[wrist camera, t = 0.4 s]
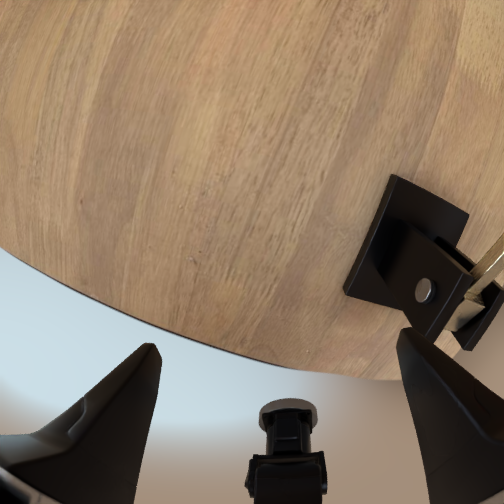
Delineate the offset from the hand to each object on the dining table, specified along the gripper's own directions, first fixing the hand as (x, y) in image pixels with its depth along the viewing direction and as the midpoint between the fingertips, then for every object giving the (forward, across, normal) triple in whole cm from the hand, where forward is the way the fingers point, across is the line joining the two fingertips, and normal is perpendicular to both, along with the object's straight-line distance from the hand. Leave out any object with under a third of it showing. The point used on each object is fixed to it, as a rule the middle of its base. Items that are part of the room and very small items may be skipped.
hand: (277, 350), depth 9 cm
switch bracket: (+12, -11, +4) cm, 17 cm away
